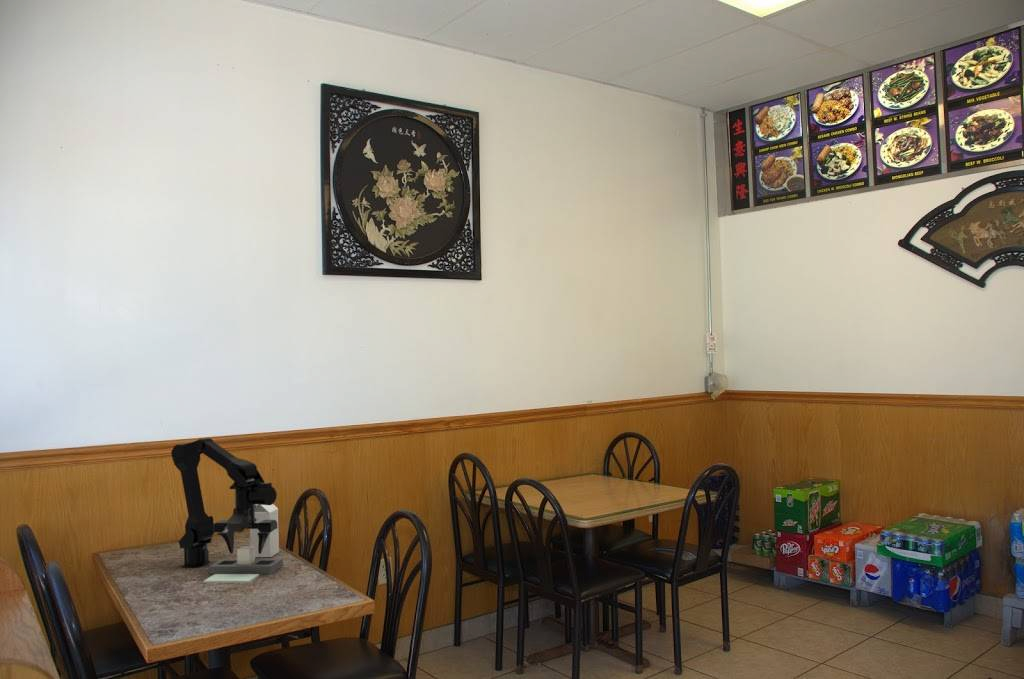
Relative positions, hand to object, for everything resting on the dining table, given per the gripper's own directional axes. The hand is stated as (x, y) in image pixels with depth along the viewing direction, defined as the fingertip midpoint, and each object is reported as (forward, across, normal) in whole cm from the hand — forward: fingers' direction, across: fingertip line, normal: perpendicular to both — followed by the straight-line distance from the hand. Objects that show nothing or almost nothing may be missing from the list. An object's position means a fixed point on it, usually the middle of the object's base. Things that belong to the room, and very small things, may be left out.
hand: (245, 553), depth 243 cm
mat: (+5, 0, -10) cm, 11 cm away
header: (+5, 0, 0) cm, 5 cm away
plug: (+5, 0, 0) cm, 5 cm away
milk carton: (+5, -2, +18) cm, 19 cm away
